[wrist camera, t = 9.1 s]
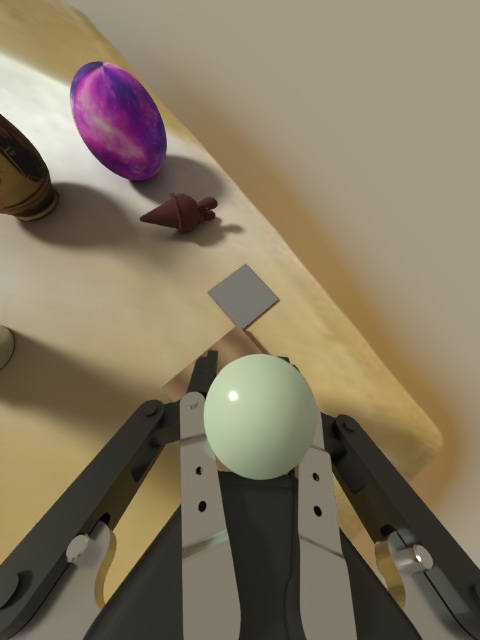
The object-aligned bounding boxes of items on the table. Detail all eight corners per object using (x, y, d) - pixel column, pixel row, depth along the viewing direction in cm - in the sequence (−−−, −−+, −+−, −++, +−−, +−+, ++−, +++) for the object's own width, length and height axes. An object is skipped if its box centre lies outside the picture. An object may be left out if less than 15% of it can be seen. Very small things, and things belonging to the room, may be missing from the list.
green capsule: (235, 415, 18) (256, 511, 6) (208, 380, 18) (179, 405, 7) (268, 385, 19) (339, 417, 7) (240, 352, 19) (265, 332, 8)
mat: (240, 331, 34) (240, 330, 34) (207, 292, 35) (207, 291, 35) (278, 299, 36) (278, 298, 36) (245, 264, 38) (245, 263, 37)
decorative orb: (188, 176, 42) (168, 77, 28) (132, 208, 39) (77, 115, 24) (150, 138, 44) (113, 27, 30) (94, 165, 41) (21, 56, 26)
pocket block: (226, 466, 28) (226, 474, 26) (166, 385, 31) (161, 387, 29) (295, 394, 32) (300, 396, 30) (237, 327, 34) (237, 324, 32)
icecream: (139, 229, 31) (223, 217, 34) (126, 186, 30) (213, 178, 34) (150, 246, 37) (219, 235, 41) (139, 211, 37) (210, 202, 41)
